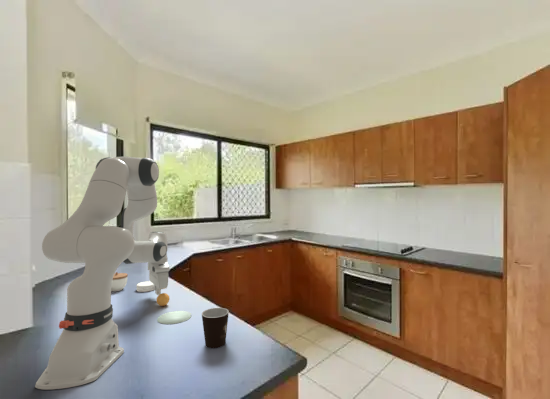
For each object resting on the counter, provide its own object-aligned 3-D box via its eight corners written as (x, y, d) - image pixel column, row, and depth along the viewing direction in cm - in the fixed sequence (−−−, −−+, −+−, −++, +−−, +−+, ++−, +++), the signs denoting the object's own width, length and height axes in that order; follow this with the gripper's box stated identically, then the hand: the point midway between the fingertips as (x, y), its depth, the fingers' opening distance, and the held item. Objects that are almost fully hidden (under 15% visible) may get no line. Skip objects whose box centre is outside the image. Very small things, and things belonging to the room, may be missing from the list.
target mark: (189, 322, 109) (189, 321, 109) (154, 325, 106) (154, 325, 106) (192, 310, 121) (192, 309, 121) (160, 312, 119) (160, 312, 119)
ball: (168, 307, 125) (168, 294, 125) (155, 308, 124) (155, 295, 124) (170, 303, 131) (170, 291, 131) (157, 304, 129) (157, 292, 130)
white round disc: (149, 286, 160) (149, 279, 160) (160, 288, 155) (160, 282, 155) (132, 290, 151) (132, 284, 151) (144, 293, 146) (144, 286, 146)
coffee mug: (215, 352, 86) (215, 319, 86) (196, 345, 90) (196, 314, 91) (240, 337, 96) (239, 307, 96) (221, 331, 100) (221, 303, 100)
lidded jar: (120, 292, 147) (120, 274, 147) (100, 292, 147) (100, 274, 148) (131, 286, 158) (131, 270, 158) (112, 286, 158) (112, 270, 158)
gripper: (145, 262, 142) (145, 290, 142) (156, 270, 126) (156, 301, 125) (158, 260, 146) (159, 287, 146) (170, 268, 129) (170, 298, 129)
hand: (157, 294), depth 135 cm, fingers closed
